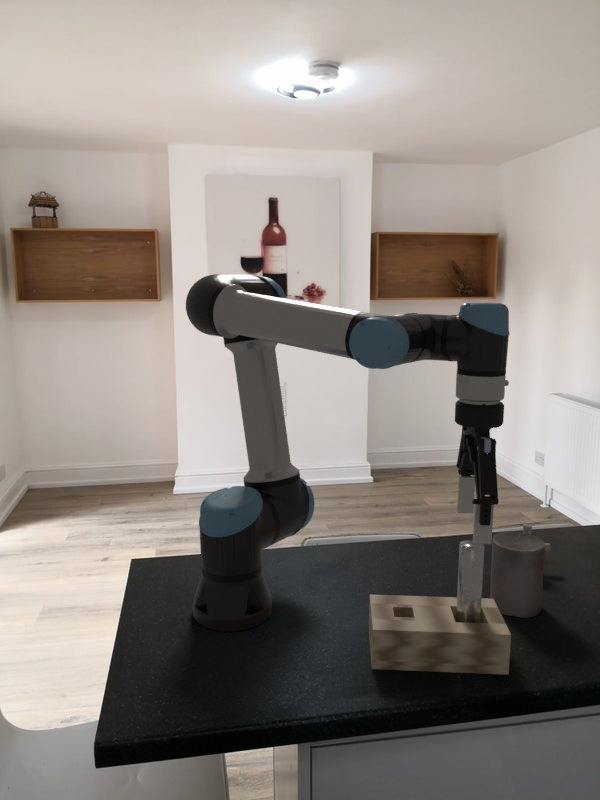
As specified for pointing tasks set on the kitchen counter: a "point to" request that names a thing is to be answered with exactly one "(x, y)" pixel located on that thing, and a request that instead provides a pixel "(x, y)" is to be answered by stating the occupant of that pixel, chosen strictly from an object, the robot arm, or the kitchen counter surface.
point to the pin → (470, 582)
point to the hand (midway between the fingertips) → (473, 526)
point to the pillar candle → (517, 573)
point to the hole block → (436, 636)
